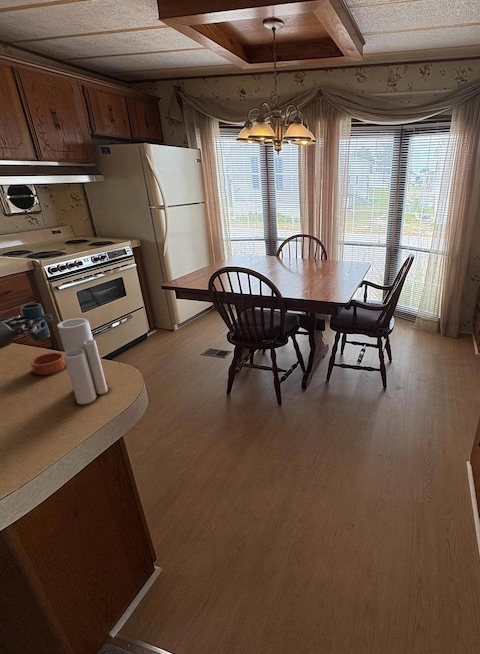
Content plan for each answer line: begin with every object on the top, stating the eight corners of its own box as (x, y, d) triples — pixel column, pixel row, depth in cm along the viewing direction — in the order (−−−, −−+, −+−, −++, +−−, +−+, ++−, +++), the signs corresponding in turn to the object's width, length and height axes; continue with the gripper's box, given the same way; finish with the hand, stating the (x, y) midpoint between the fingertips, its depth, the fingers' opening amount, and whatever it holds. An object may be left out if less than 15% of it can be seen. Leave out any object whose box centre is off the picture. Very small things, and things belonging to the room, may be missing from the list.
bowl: (42, 378, 100) (39, 367, 99) (28, 370, 104) (24, 360, 102) (71, 366, 107) (68, 356, 106) (57, 359, 110) (54, 350, 109)
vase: (75, 385, 97) (56, 321, 90) (104, 378, 101) (89, 316, 94) (77, 406, 89) (56, 337, 81) (109, 397, 93) (92, 330, 85)
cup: (38, 342, 98) (28, 309, 95) (26, 339, 100) (16, 307, 96) (54, 335, 103) (45, 304, 99) (42, 333, 104) (32, 302, 100)
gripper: (3, 328, 83) (61, 305, 99) (-48, 323, 85) (17, 302, 101) (13, 355, 86) (68, 329, 102) (-37, 350, 88) (25, 325, 104)
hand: (42, 315), depth 101 cm, fingers closed on cup, 4 cm apart
